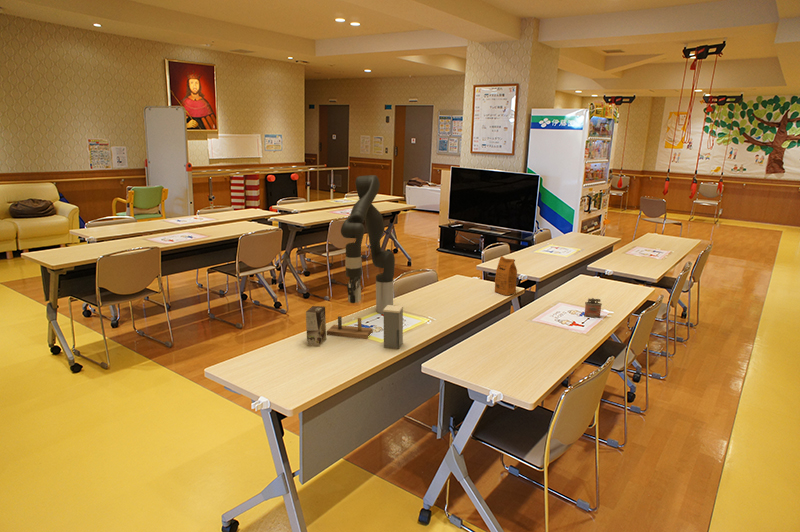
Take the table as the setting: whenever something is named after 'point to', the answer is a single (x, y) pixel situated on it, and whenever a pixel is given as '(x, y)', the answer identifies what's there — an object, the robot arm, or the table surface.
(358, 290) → the sleeve
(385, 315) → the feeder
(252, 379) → the table surface
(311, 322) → the coffee box
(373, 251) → the robot arm
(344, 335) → the pin block
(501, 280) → the coffee package
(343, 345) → the table surface
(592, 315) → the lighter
